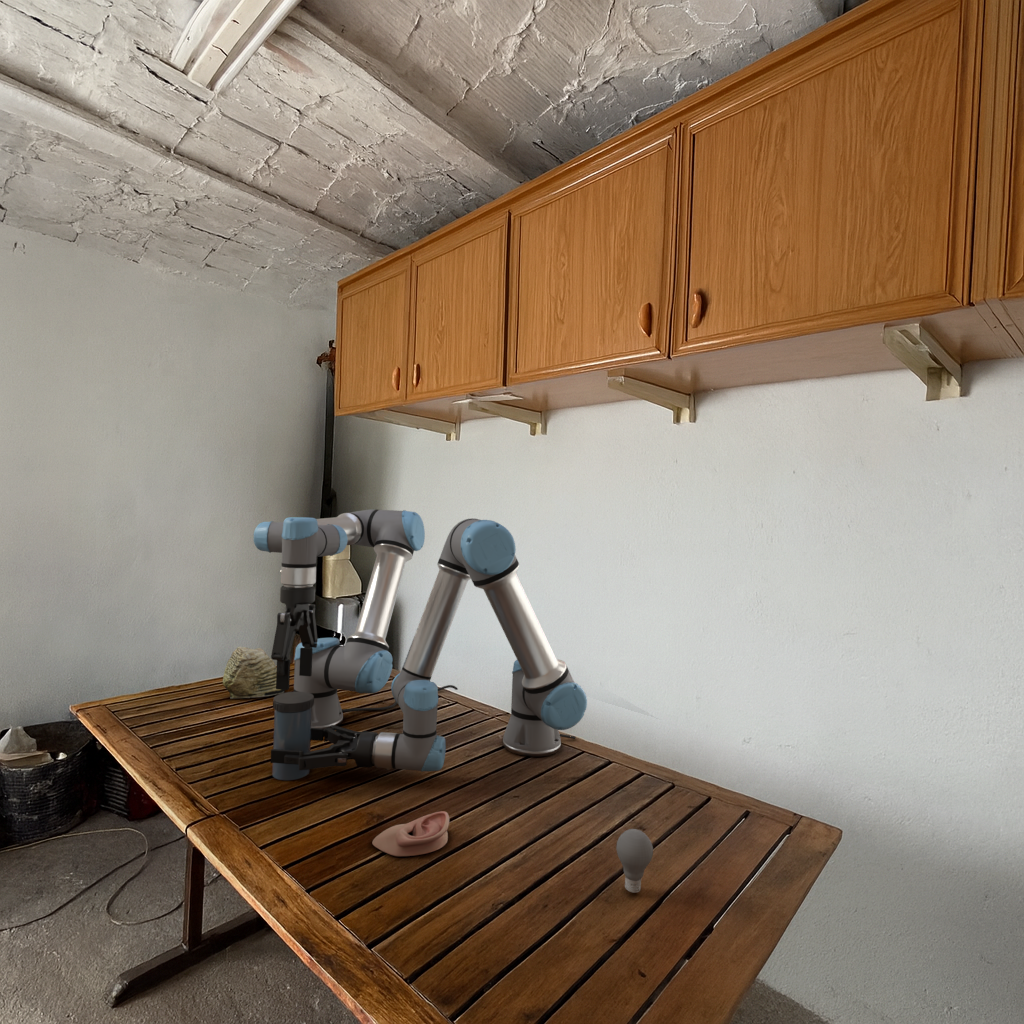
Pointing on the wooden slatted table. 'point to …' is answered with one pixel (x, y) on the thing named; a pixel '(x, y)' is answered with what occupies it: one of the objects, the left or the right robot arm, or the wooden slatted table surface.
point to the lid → (293, 702)
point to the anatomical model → (415, 836)
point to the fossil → (250, 674)
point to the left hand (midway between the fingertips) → (294, 682)
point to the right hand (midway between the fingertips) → (284, 743)
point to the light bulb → (634, 857)
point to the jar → (291, 740)
